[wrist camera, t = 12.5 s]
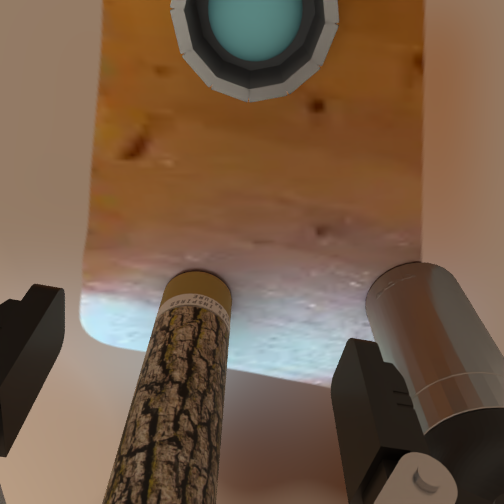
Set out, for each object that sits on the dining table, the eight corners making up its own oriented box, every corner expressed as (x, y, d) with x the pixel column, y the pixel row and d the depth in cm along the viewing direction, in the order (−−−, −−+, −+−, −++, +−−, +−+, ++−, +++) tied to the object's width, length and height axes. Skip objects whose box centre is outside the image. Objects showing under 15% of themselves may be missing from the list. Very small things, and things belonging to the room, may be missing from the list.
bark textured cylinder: (158, 269, 46) (71, 536, 25) (228, 265, 46) (201, 532, 24) (170, 324, 50) (103, 598, 28) (235, 320, 49) (217, 595, 28)
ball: (317, 13, 33) (326, 21, 28) (251, 72, 35) (248, 89, 30) (261, -67, 31) (261, -73, 26) (194, 1, 33) (181, 7, 28)
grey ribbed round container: (363, 16, 34) (386, 28, 28) (247, 114, 38) (245, 145, 32) (266, -132, 30) (268, -157, 24) (146, -4, 34) (120, 4, 28)
